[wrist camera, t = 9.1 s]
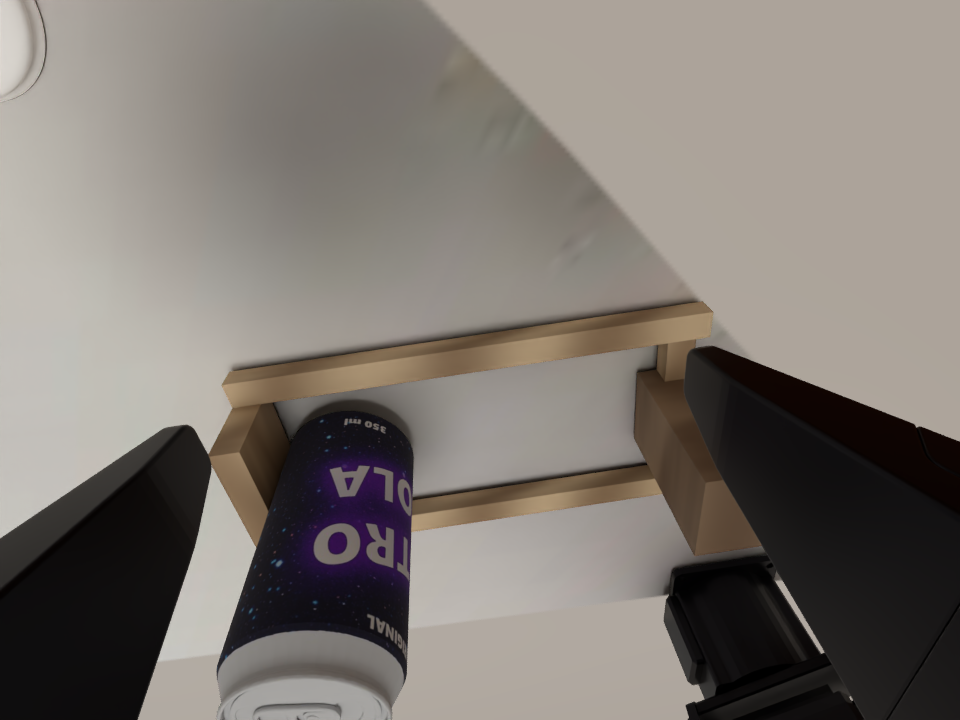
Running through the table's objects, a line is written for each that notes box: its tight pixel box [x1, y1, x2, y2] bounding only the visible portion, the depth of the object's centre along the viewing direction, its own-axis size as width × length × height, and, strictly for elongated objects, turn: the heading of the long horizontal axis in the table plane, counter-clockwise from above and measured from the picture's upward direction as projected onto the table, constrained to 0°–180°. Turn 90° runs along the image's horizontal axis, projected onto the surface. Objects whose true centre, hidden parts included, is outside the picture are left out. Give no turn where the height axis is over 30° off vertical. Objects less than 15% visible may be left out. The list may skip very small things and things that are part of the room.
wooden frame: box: [209, 301, 762, 556], centre depth 22 cm, size 21×10×7 cm, turn 97°
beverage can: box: [217, 411, 414, 720], centre depth 20 cm, size 6×6×12 cm
